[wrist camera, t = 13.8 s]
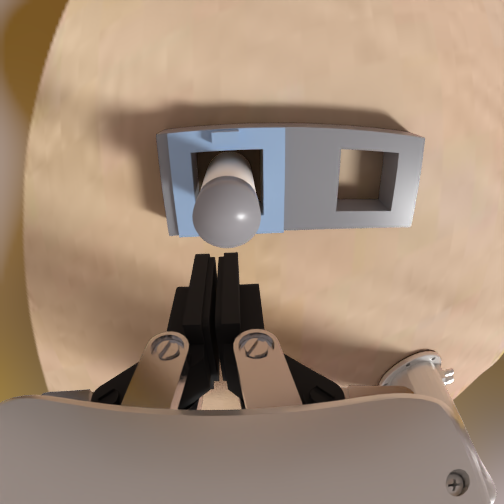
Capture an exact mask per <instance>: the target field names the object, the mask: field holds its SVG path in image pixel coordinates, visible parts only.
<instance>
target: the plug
mask: <svg viewBox="0 0 504 504" xmlns="http://www.w3.org/2000/svg"><path fill="white" fill-rule="evenodd" d="M192 219H193V224H194V227H195V230H196V232H197V233H198V234H199V236H200V237H201V238H202V239H203V240H204V241H206V242H207V243H209V244H211V245H213V246H216V247H221V248H233V247H237V246H240V245H243V244H245V243H246V242H248V241H249V240H250V239H251V238H252V237H253V236H254V235H255V234H256V232H257V230H258V229H259V226H260V222H261V212H260V207H259V202H258V197H257V194H256V190H255V185H254V180H253V174H252V169H251V166H250V163H249V162H248V160H247V159H246V158H245V157H244V156H243V155H241V154H239V153H236V152H223V153H220V154H218V155H217V156H215V157H214V158H213V159H212V160H211V162H210V164H209V166H208V169H207V172H206V175H205V178H204V181H203V184H202V187H201V190H200V192H199V194H198V196H197V199H196V202H195V205H194V209H193V214H192Z"/></svg>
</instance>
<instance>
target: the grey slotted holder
mask: <svg viewBox="0 0 504 504" xmlns="http://www.w3.org/2000/svg"><path fill="white" fill-rule="evenodd" d="M156 139H157V149H158V158H159V167H160V175H161V183H162V190H163V198H164V205H165V212H166V218H167V225H168V231H169V236H175V235H179V237H196V236H199V234H198V233H197V232H196V230H195V227H194V224H193V219H192V214H193V209H194V205H195V202H196V199H197V196H198V194H199V192H200V190H199V178H198V167H197V154H196V152H208V151H225V150H248V149H260V190H261V201H258V202H259V207H260V212H261V222H260V226H259V229H258V230H257V232H256V234H260V233H284V230H311V229H345V228H387V227H411V224H412V219H413V214H414V209H415V204H416V198H417V192H418V187H419V180H420V174H421V167H422V160H423V152H424V143H425V138H424V137H421V136H419V135H416V134H413V133H410V132H406V131H398V130H390V129H381V128H372V127H361V126H348V125H333V124H311V123H245V124H222V125H207V126H194V127H183V128H173V129H164V130H163V131H161V132H159V133H158V134H156ZM341 149H352V150H368V151H382V152H384V156H383V166H382V174H381V183H380V190H379V198H378V199H337V195H338V184H339V171H340V156H341Z"/></svg>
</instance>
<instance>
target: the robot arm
mask: <svg viewBox="0 0 504 504" xmlns="http://www.w3.org/2000/svg"><path fill="white" fill-rule="evenodd" d="M219 363H220V364H221V370H222V376H223V381H227V385H228V390H230V391H231V392H232V393H234V394H235V395H236V396H238V397H239V403H240V408H241V409H240V410H201V408H202V403H203V395H204V394H205V393H207V392H208V391H209V390H210V389H214V381H219ZM453 373H454V370H453V369H452V368H450V369H447V370H445V371H443V370H442V368H441V358H440V356H439V355H438V354H437V353H436V352H433V351H424V352H420V353H417V354H414V355H412V356H410V357H407V358H406V359H404V360H402V361H400V362H399V363H397V364H396V365H395V366H393V367H392V368H391V369H390V370H389V371H388V372H387V373H386V374H385V375H384V376H383V377H382V379H381V381H380V383H379V386H366V385H349V386H348V388H340V386H338V385H337V384H336V383H334V382H333V381H331V380H329V379H327V378H325V377H323V376H322V375H320V374H318V373H316V372H315V371H313V370H311V369H309V368H307V367H306V366H304V365H302V364H301V363H299V362H297V361H295V360H294V359H292V358H290V357H289V356H287V355H285V354H283V351H282V348H281V346H280V343H279V341H278V339H277V337H276V336H275V335H273V334H272V333H271V332H268V331H266V330H264V323H263V315H262V307H261V298H260V290H259V284H244V285H240V284H239V266H238V252H236V253H224V257H219V262H218V276H217V272H216V262H215V257H210V254H196V255H195V259H194V264H193V269H192V275H191V280H190V285H189V287H177V289H176V293H175V297H174V301H173V306H172V310H171V314H170V319H169V324H168V328H167V332H163V333H160V334H157V335H155V336H154V337H153V338H151V339H150V340H149V342H148V343H147V345H146V347H145V350H144V352H143V354H142V356H141V359H140V361H139V362H138V363H136V364H135V365H133V366H132V367H130V368H128V369H127V370H125V371H124V372H122V373H121V374H119V375H117V376H116V377H114V378H113V379H111V380H110V381H108V382H106V383H105V384H103V385H102V386H100V387H99V388H98V389H96V390H95V392H91V390H90V389H88V390H75V391H60V392H47V393H43V394H42V395H25V396H19V397H14V398H10V399H7V400H5V401H3V402H1V403H0V504H493V503H494V501H495V498H496V487H495V484H494V482H493V480H492V478H491V476H490V475H489V473H488V471H487V470H486V468H485V466H484V465H483V463H482V461H481V459H480V457H479V456H478V454H477V452H476V450H475V448H474V445H473V443H472V441H471V439H470V437H469V434H468V432H467V430H466V428H465V426H464V423H463V421H462V419H461V417H460V415H459V413H458V410H457V408H456V406H455V404H454V402H453V400H452V398H451V396H450V394H449V392H448V390H447V388H446V386H445V385H447V384H450V383H452V382H453V380H454V378H453Z"/></svg>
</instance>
